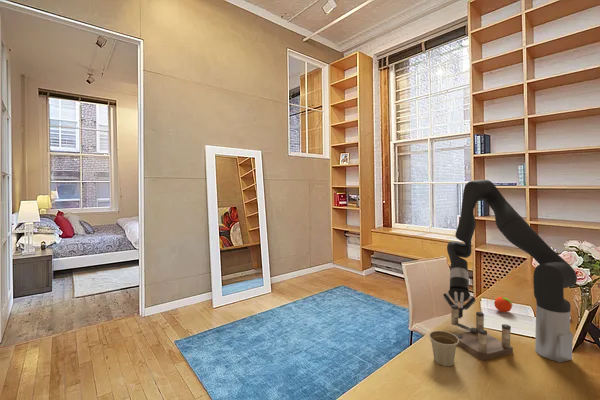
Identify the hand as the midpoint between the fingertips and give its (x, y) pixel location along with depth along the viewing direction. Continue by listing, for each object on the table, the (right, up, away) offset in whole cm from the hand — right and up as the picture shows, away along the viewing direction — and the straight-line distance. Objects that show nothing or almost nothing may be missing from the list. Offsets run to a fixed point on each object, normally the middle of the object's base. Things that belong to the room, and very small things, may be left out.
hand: (458, 317), depth 126 cm
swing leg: (0, -3, -4) cm, 5 cm away
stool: (+1, -6, -13) cm, 14 cm away
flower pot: (-17, -7, -22) cm, 28 cm away
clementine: (+29, -4, +15) cm, 33 cm away
